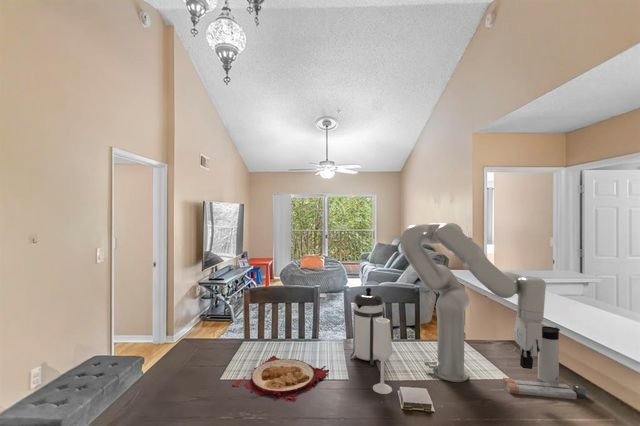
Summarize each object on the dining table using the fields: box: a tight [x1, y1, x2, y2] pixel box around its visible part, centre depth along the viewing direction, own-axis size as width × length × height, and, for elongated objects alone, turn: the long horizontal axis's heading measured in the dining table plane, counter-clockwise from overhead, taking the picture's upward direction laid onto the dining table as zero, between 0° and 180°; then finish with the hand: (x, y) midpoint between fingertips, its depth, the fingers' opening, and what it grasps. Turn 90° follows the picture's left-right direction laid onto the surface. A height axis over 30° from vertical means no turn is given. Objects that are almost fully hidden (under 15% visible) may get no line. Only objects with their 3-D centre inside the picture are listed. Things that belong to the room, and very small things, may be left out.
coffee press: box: [350, 287, 386, 367], centre depth 138 cm, size 17×16×30 cm
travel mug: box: [537, 325, 561, 384], centre depth 118 cm, size 6×7×20 cm
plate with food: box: [232, 355, 330, 404], centre depth 120 cm, size 25×26×4 cm
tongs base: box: [502, 377, 587, 399], centre depth 113 cm, size 25×5×3 cm, turn 80°
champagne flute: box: [372, 317, 393, 395], centre depth 114 cm, size 7×7×24 cm
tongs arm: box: [505, 382, 577, 400], centre depth 111 cm, size 20×3×2 cm, turn 80°
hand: (526, 367), depth 110 cm, fingers closed
